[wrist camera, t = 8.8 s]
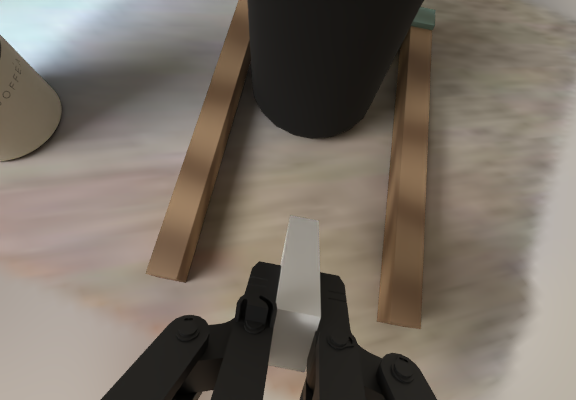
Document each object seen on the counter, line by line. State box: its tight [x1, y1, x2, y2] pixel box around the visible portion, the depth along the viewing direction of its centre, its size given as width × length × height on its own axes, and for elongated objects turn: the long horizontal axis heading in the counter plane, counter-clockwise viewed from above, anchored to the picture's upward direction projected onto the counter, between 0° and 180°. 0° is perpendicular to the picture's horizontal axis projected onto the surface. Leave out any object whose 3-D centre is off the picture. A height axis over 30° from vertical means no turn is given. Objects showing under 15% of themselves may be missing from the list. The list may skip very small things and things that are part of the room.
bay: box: [146, 0, 435, 329], centre depth 26 cm, size 28×18×3 cm, turn 169°
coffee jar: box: [247, 0, 424, 138], centre depth 20 cm, size 11×11×18 cm
